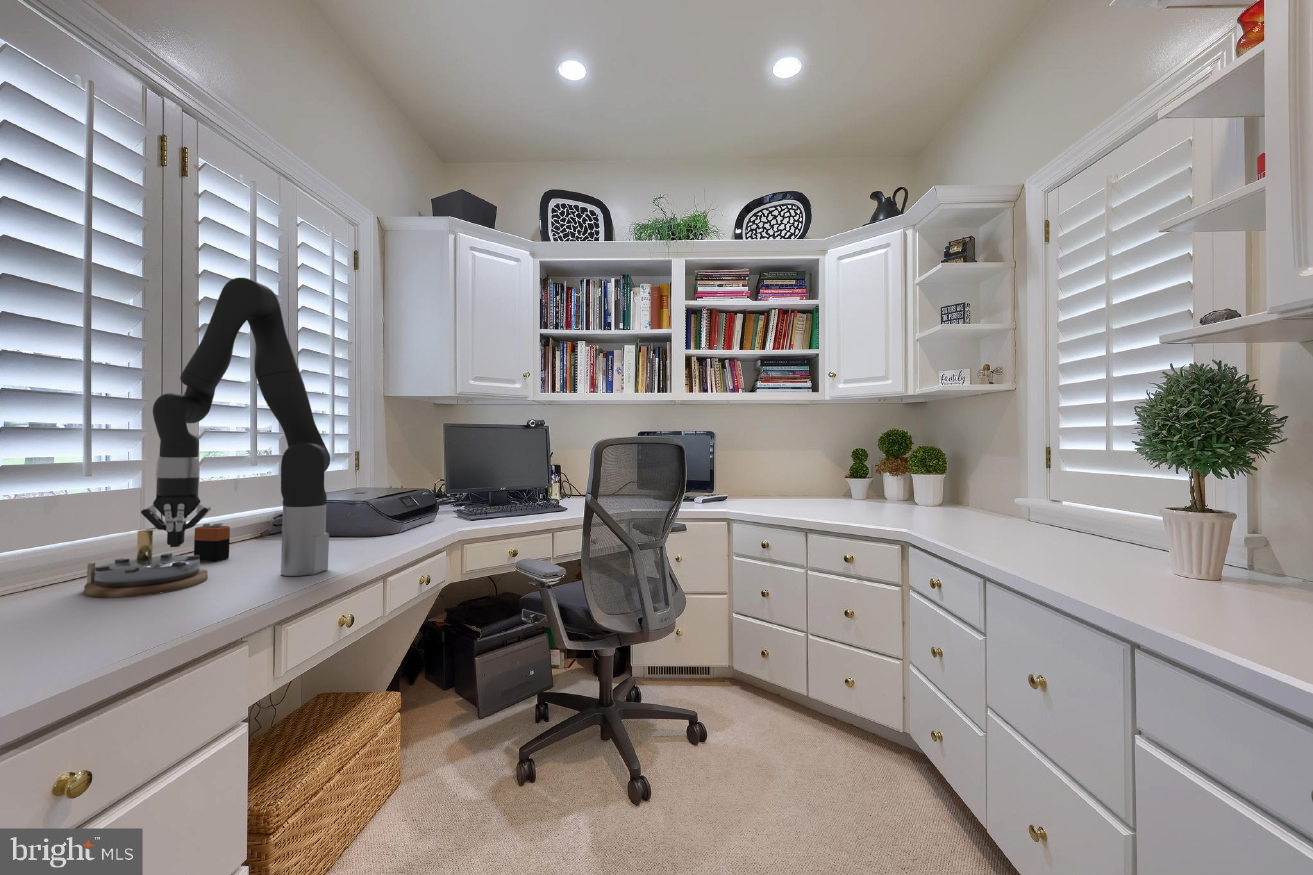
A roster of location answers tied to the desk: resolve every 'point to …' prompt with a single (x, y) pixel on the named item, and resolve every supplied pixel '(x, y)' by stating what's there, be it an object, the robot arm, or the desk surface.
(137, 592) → the base plate
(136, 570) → the studded grey disc
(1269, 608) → the desk surface
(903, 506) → the desk surface
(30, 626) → the desk surface
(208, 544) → the battery
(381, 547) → the desk surface
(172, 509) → the robot arm
